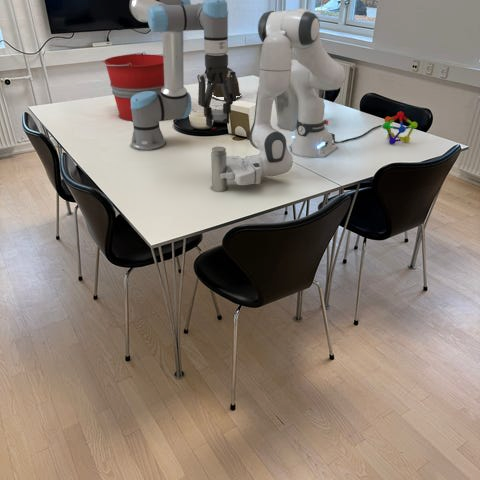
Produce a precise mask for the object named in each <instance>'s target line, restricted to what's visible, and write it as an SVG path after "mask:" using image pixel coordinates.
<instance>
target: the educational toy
mask: <svg viewBox="0 0 480 480" xmlns="http://www.w3.org/2000/svg"><path fill="white" fill-rule="evenodd" d="M397 119H399V124H400V125H399V127H398V126H393V125H391V124H392V123H394V122H395V121H396V120H397ZM403 120H404V121H405V122H407V123H408V124H409V125H407V126H404V123H403ZM417 127H418V122H417V121H411V120H410V119H409V118H408V117H406V116H405V113H404V112H403V111H401V110H400V111H398V112H397V114H396V115H394V116H391V117H390V116H386V117H385V118H384V122H383V123H382V129H383V130H386V132H387V138H388V142H389V145H395V144H396V143H397V142H402V141H403V142H404V143H409V142H410V140H411V138H410V136H411V134H412V132H413V131H414V130H415V129H417ZM392 129H393V130H397V131H398V132H396V134H395V133H394V132H392ZM408 129H409V131H408V133H407V134H406V135H404V136H401V134H403V133H405V132H406V130H408ZM399 135H400V136H399Z"/></svg>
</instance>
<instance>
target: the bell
mask: <svg viewBox="0 0 480 480" xmlns="http://www.w3.org/2000/svg"><path fill="white" fill-rule="evenodd" d="M227 68H228V71H230V70H231V71H234V70H232V69H231V68H230V67H227ZM238 79H239V78H238V77H237V74H235V94H236V96H240V95H241V96H242V93H241V92H240V83H239V80H238ZM226 82H227V88H228V76H227V77H226ZM228 91H229V90H228ZM213 95H214V96H216V97H223V94H222V90H221V87H220V85H219V83H218V84H216V86H215V88H214V90H213Z"/></svg>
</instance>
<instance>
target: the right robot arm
mask: <svg viewBox="0 0 480 480" xmlns="http://www.w3.org/2000/svg"><path fill="white" fill-rule="evenodd" d="M320 23H321V22H320V19H319V17H318V16H317V15H316V14H315V13H314V12H311V11H310V10H309V9H307V8H301V7H300V8H296V9H295V10H293V9H292V10H291V9H288V10H277V11H274V10H270V11H266V12H264V13H262V15H261V16H260V18H259V20H258V24H257V32H258V33H257V34H258V37H259V39H260V41H261V43H262V45H261V51H260V56H259V57H260V58H259V73H258V74H259V75H258V87H257V92H256V99H255V107H254V117H253V124H252V126H251V128H250V130H249V134H248V139H249V143H250V145H251V146H252V147H254V148H255V149H256V150H259V154H254V155H253V154H252V155H246V156H244V158H242V157H241V156H238V155H229V156H228V155H226V156H227V173H224V172H222V173H219V177H220V178H221V179H223V178H226V179H227V180H233V181H234V182H235V184H236V185H238V186H247V185H253V184H254V185H259V184H261V181H262V180H261V179H262V178H264V177H276V176H280V175H284V174H286V173H288V172H290V171H291V169H292V168H293V164H294V163H293V162H294V159H293V155H292V153H293V154H295V155H297V156H299V157H305V158H316V157H320V158H325V157H327V156H328V155H329V154H331V153H332V152H334V151H335V150H336V149H338V145H337V144H341V143H345V142H348V141H353V140H356V139H360V138H362V137H364V136H365V135H367V134H369V133H370V132H372V131H373V130H376V129H377V128H381V127H383V124H379V125H377V126H374V127H372V128H370V129H369V130H368V131H366V132H364V133H362V134H361V135H358V136H356V137H352V138H347V139H344V140H342V141H336V137H335V136H336V134H335V133H332V132H330V131H329V130H327V129H326V127H325V126H328V125H329V124H330V121H329V120H328V119H324V118H325V117H324V116H325V106H326V105H325V102H324V101H325V100H323V98H322V97H321V98H320V97H319V96H318V95H317V94H316V92H315V89H321V90H325V91H335V90H339V89H340V88H341V87H342V86H343V84H344V83H345V80H346V70H345V67H344V66H343V64H340V63H338V62H337V61H336V60H334V59H333V58H332V57H331V56H330V54H328V52H327V51H326V50H325V48H324V45H323V43H322V39H321V35H320V29H321V27H320V26H321V25H320ZM292 52H293V55H294V58H295V59H293V58H292ZM289 83H290V84H291V85H292V87H293V88H294V90H295V92H296V95H297V98H298V119H297V122H296V128H297V129H296V130H294V134H293V135H292V136H291V139H293V140H292V143H291V144H290V148H291V152H292V153H291V152H290V151H289V149H288V145H287V139H286V136H285V135H284V134H283V133H282V132H281V131H279V130H277V129H276V128H274V127H273V125H272V122H271V118H272V111H273V104H274V102H275V100H274V99H275V98H276V97H277V96H279V95H281V94H282V93H284V92H285V91H286V90H287V89H288V87H289ZM314 88H315V89H314Z"/></svg>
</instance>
